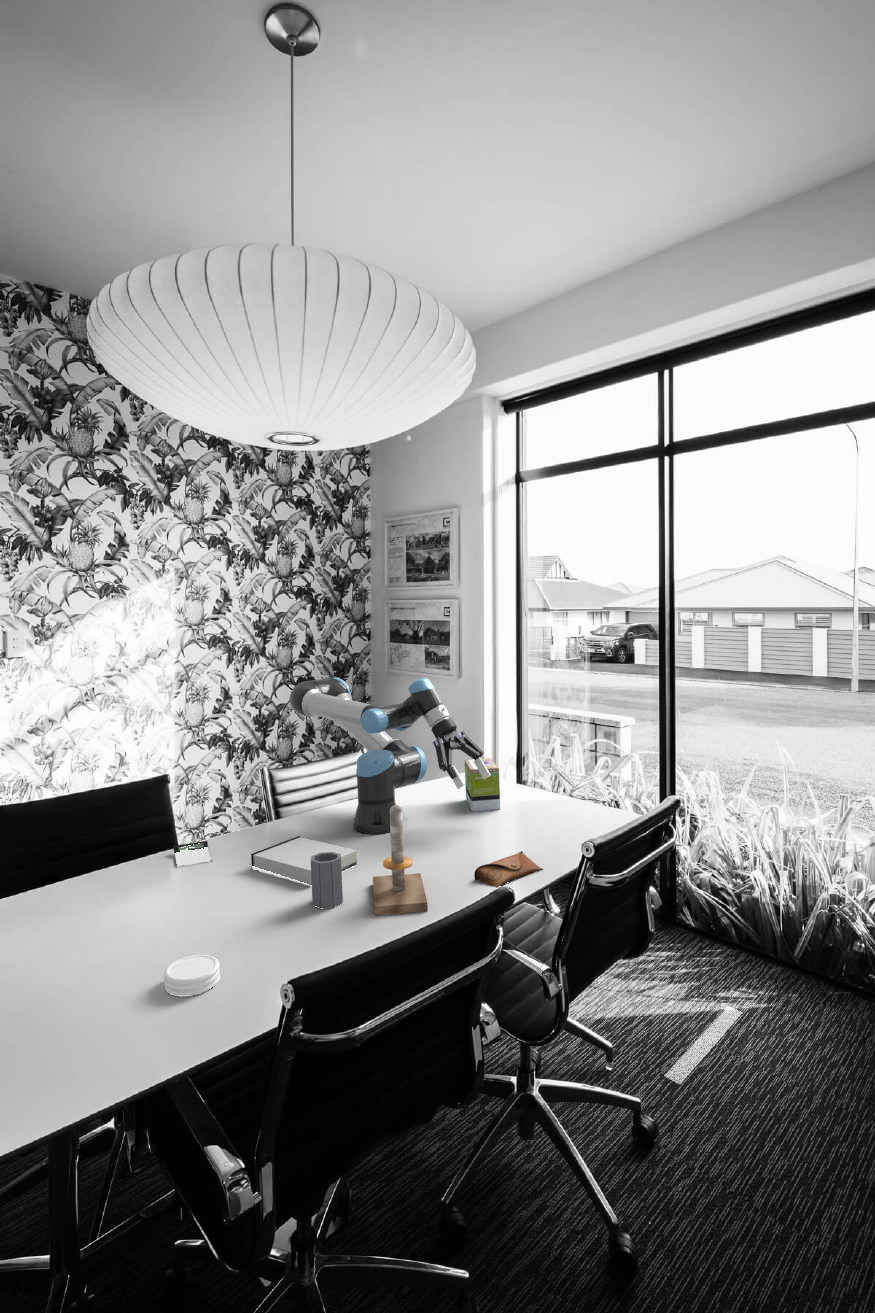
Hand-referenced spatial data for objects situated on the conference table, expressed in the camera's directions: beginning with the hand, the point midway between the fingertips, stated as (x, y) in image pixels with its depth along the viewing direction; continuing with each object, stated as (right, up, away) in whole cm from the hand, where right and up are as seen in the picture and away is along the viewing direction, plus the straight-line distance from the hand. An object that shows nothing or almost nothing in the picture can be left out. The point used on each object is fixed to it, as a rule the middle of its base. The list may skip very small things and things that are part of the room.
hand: (474, 782), depth 219 cm
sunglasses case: (+7, -18, -34) cm, 39 cm away
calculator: (-81, -19, -14) cm, 85 cm away
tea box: (+4, -13, +30) cm, 33 cm away
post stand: (-21, -19, -46) cm, 54 cm away
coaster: (-58, -24, -83) cm, 104 cm away
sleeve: (-38, -20, -48) cm, 64 cm away
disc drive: (-47, -19, -25) cm, 57 cm away
